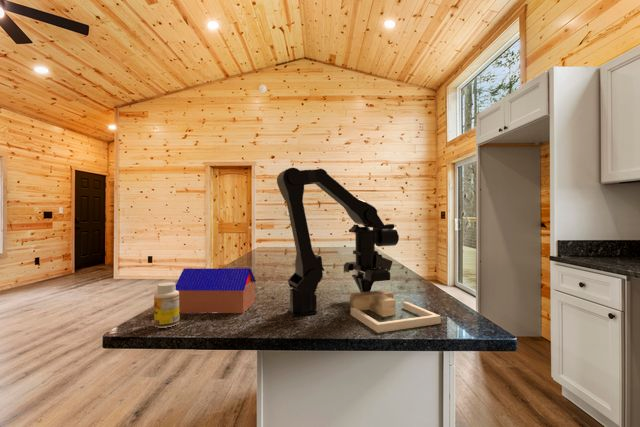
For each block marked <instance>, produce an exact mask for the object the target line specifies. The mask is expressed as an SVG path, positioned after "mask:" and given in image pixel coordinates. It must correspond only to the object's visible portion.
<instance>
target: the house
mask: <svg viewBox="0 0 640 427" xmlns="http://www.w3.org/2000/svg"><path fill="white" fill-rule="evenodd" d="M256 282H257V281H256V279H255V276H254V273H253V272H252V269H251V268H244V267H243V268H233V267H232V268H231V267H230V268H183V269H182V271H181V273H180V276H179V277H178V279H177V282H176V283H175V284H176V289H175V290H177V291H179V312H222V313H244V312H245V311H246V310H247V309H248V308H249V307H250V306H251V305H252V304H253V303H254V302H255V303H256V292H255V291H256V289H255V286H256V285H255V284H256ZM255 303H254V304H255ZM254 304H253V305H254ZM253 305H252V306H253ZM252 306H251V307H252ZM251 307H250V308H251ZM250 308H249V309H250ZM249 309H248V310H249ZM248 310H247V311H248ZM247 311H246V312H247ZM246 312H245V313H246ZM245 313H244V314H245Z"/></svg>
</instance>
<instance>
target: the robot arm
mask: <svg viewBox="0 0 640 427" xmlns="http://www.w3.org/2000/svg"><path fill="white" fill-rule="evenodd" d="M276 184H277V187H278V189H279V191H280V194H281V196H282V198H283V200H284V201H285V203H286V206H287V207H286V208H287V212H288V217H289V221H290V225H291V230H292V231H291V232H292V237H293V242H294V246H295V251H296V253H295V254H296V255H295V261H294V265H295V268H294V270H295V272H294V273H293V274H292V275H291V276H290V277H289V278H288V279H287V283H288V286H289V288H290V289H289V308H288V311H289V313H290V314H291V315H292V316H294V317H300V316H307V315H315V314H318V310H317V304H318V303H317V294H316V291H317V289H318V285H319V283H320V282H321V280H322V279H323V277H324V276H323V274H324V273H323V272H324V271H325V268H324V266H323V258H322V256H321V255H319V254H315V252H314V250H313V247H312V240H311V236H310V231H309V226H308V222H307V221H308V220H307V216H306V211H305V206H304V201H303V198H304V193H305V186H306V185H314V184H315V185H316V186H317V187H318V188H320V190H322V192H324V193H325V194H327V195H328V196H329V197H330V198H332V199H333V200H334V201H335V202H336V203H338V204H339V205H340V206H341V207H343V209H344V210H345V211H346V213H347V215H348V216H349V218H350V219H351V220H352V221H353V222H354V223H355V224H353V225H352V227H351V228H349V229H348V232H349V233H354V234H355V236H354V237H355V249H354V250H352V254H353V255H355V261H349V262H348V261H346V262H345V263H344V264H343V271H344V272H345V273H349V272H351V271H353V274H352V275H351V277H352V278H353V280H354V282H355V284H356V286H357V288H358V290H359V293H360V292H369V291H372V287H373V285H374V283H376V282H383V281H384V282H386V281H390V280H392V279H391V272H390V271H391V269H392V266H393V262H394V261H393V260H391V259H388V258H385V257H383V255H382V254H379V252H378V250H375V249H376V246H377V248H379V247H380V248H381V247H391V246H392V247H394V246H396V245H397V244H398V243H399V241H400V240H399V239H400V236H399V233H398V231H397V229H396V228H395V224H394V223H386V224H385V223H384V222H383V221H382V219H381V218H380V216H379V214H378V210H377V209H376V207H375V206H373V205H372V204H370V203H368V202H366V200H365V201H364V200H362V199H359V198H357V197H356V196H354V194H352V193H351V192H350V191H349V190H347V189H346V188H345V187H344V186H343V185H342V184H341V183H339V181H337V180H335V178H333V176H331V175H330V174H329V173H328V172H327V171H326V169H324V168H317V169H302V170H301V169H298V168H297V167H290V168H287V169H285V170H283V171H281V172H279V174H278V175H277V177H276ZM359 225H361V226H359ZM375 245H376V246H375Z"/></svg>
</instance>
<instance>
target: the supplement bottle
mask: <svg viewBox="0 0 640 427" xmlns="http://www.w3.org/2000/svg"><path fill="white" fill-rule="evenodd" d="M175 289H176V283H175V282H170V281H169V282H168V281H167V282H161V283H159V284H157V291H156V292H155V293H154V294H153V305H154V306H153V308H154V310H153V313H154V314H153V315H154V317H153V318H154V322H153V324H154V327H155V328H156V327H158V328H157V329H159V328H166V329H168V328H167V327H171V328H173V327H172V326H174V327H176V326H178V325H179V323H180V313H179V291H177V290H175ZM177 324H178V325H177ZM175 325H176V326H175Z"/></svg>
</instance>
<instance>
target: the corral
mask: <svg viewBox="0 0 640 427" xmlns="http://www.w3.org/2000/svg"><path fill="white" fill-rule="evenodd" d="M402 309H403V310H406V311H407V312H410V313H412V314H415V315H416V316H417V317H416V316H415V317H411V318H402V319H395V320H389V321H382V322H380V321H378V320H377V319H374V318H373V317H371V316H369V315H368V314H366V313H365V312H364V311H360V310H358V309H356V308H350V316H352V317H353V318H355V319H356V320H358V321H359V322H361V323H363V325H365V326H367V327H368V328H370V329H371V330H372V331H374V332H376V333H378V334H379V333H386V332H392V331H393V332H394V331H398V330H405V329H412V328H417V327H419V328H420V327H425V326H432V325H438V324H439V325H440V324H441V323H442V322H441V321H442V319H441V318H442V317H441V315H439V314H437V313H435V312H432V311H429V310H427V309H425V308H423V307H420V306H418V305H415V304H413V303H410V302H408V301H402Z"/></svg>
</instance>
